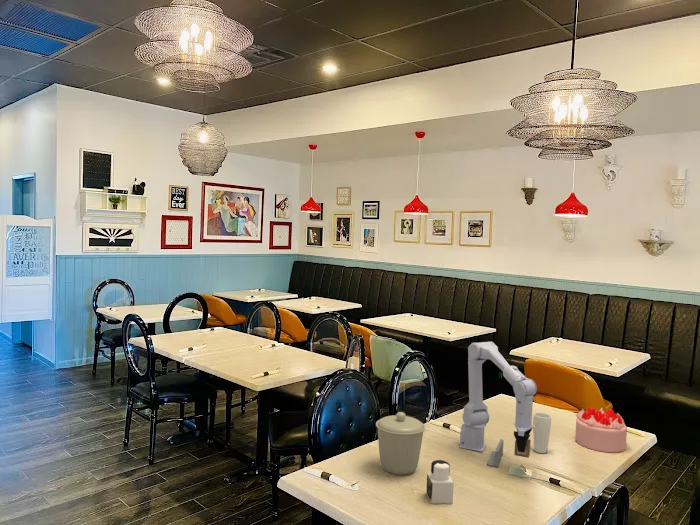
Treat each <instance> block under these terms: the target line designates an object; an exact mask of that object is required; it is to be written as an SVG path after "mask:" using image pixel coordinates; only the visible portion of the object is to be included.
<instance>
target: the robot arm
mask: <svg viewBox="0 0 700 525" xmlns="http://www.w3.org/2000/svg"><path fill="white" fill-rule="evenodd" d="M467 353H468V355H467V356H468V357H467V360H468V361H467V365H468V367H467V368H468V369H467V370H468V398H469V401H468V403H467V404H465V405H464V406H463V413H462V422H463V423H462V424H461V425H460V431H459V432H460V433H459V446H458V447H459V448H460V449H465V450H470V451H474V452H475V451H476V452H479V453H480V452H482V453H483V452H484V450H485V448H486V446H487V444H486V443H485V427H486V426H487V424H488V423H489V421H490V414H489V410H488V409H489V408H488V406H487V405H486V404H485V403H484V401H483V397H484V396H483V392H484V391H483V364H484V362H486V361H487V360H489V361H491V362H492V363H494V364H495V366H497V368H499V369H500V370H501V371H502V376H503V377H504V378H505V380H506V381H507V382H508V383H509V384H510V385H511V386H512V390H513V393H514V399H515V401H516V402H515V422H514V427H515V429H516V431H515V430H514V431H513V436H514V438H515V440H516V442H517V448H518V452H523V453H524V451H525V448H526V443H527V440H528V439H530V437H531V434H530V433H531V432H532V430H533V429H535V426H534V425H533V419H532V418H533V402H534V395H536V393H537V391H538V390H537V389H538V387H537V383H536V382H535V381H534V380H533V379H531V378H528V377H527V376H526V375H524V373H522V372H521V371H520V370H519V368H518V366H515V365H510V364H509V363H508V362H507V360H506V359H505V358H504V356H503V355H502V354H501V353H500V352H499V346H497V345H496V344H495V343H494V341H482V342H471V344H469V346H467Z"/></svg>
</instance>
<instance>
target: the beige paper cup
mask: <svg viewBox="0 0 700 525" xmlns="http://www.w3.org/2000/svg"><path fill="white" fill-rule="evenodd" d="M532 418H533V419H532V425H534V426H535V429H532V430H533V451H534V452H536V453H538V454H546V453H548V447H549V440H550V433H551V426H552V416H551V415H550V414H549V413H545V412H534V413H533V416H532Z"/></svg>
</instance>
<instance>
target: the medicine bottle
mask: <svg viewBox="0 0 700 525" xmlns="http://www.w3.org/2000/svg"><path fill="white" fill-rule="evenodd" d="M430 465H431V466H430V467H431V468H430V472H427V473H426V495H427V497H428V500H429V501H430V503H431V504H454V503H453V502H454V481H453V478H452V477H451V476H450V475H451V465H450V463H449V462H448V461H445V460H442V459H436V460H433V461H432V462H431V464H430Z"/></svg>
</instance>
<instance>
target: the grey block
mask: <svg viewBox="0 0 700 525" xmlns="http://www.w3.org/2000/svg"><path fill="white" fill-rule="evenodd" d="M504 440H505V439H501V438H500V439H499V441H498V443H497V446H496V448H495V451H494V450H493V451H492V452H491V453H490V456H489V458H488V461H487V462H486V466H488V467H493V468H496V469H497V468H499V465H500V464H501V463H500V462H501V460H502V458H503V455H504ZM501 457H502V458H501Z"/></svg>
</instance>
